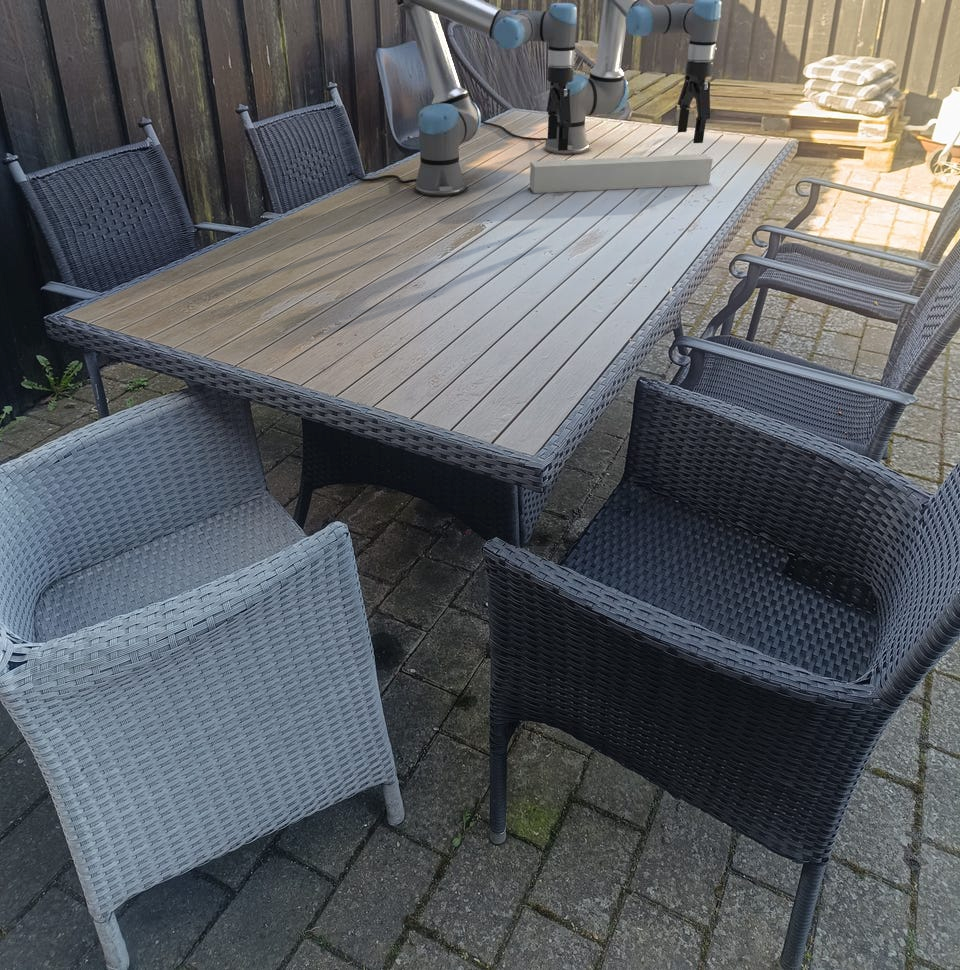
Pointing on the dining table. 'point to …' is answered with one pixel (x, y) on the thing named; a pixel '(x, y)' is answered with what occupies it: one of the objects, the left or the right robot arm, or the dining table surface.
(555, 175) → the beam
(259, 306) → the dining table surface
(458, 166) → the left robot arm
